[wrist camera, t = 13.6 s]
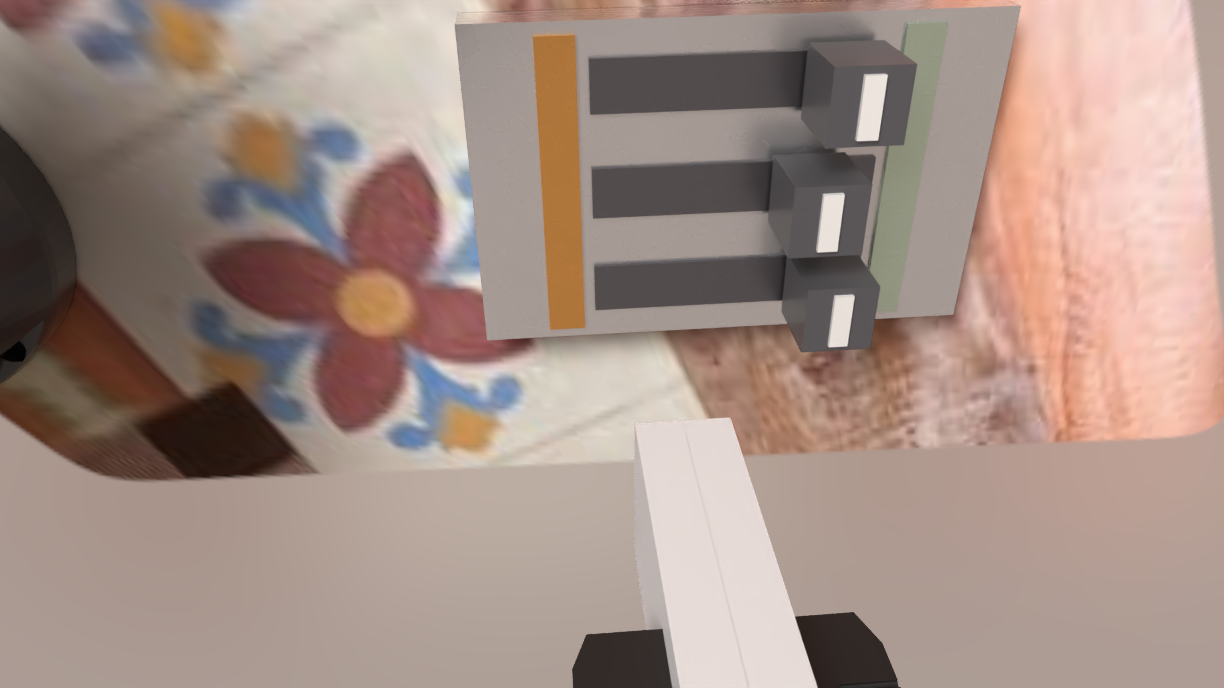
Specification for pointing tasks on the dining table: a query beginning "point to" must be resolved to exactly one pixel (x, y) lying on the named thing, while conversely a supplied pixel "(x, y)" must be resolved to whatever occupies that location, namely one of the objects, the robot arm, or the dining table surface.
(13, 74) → the dining table surface
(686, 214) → the panel
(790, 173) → the breaker
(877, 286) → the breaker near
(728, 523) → the robot arm
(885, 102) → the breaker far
